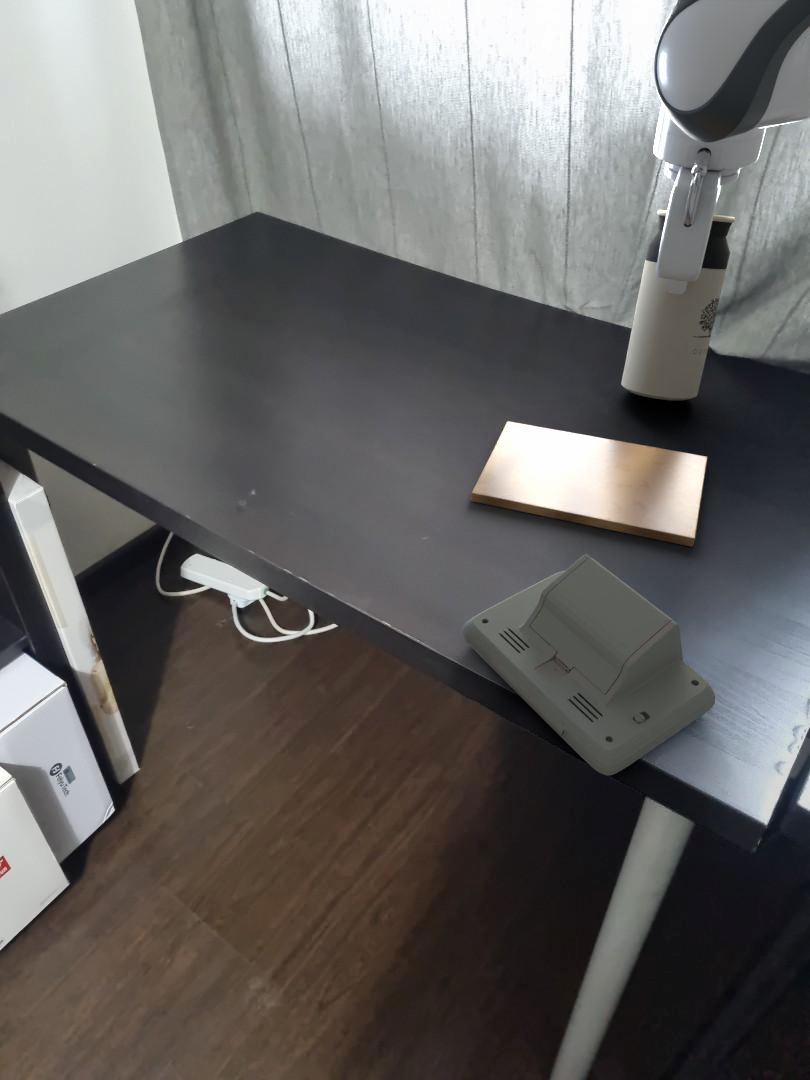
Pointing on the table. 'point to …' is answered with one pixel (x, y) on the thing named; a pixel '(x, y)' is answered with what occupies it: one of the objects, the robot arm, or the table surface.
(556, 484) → the wooden board
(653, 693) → the digital clock
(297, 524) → the table surface
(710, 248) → the travel mug
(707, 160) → the robot arm
